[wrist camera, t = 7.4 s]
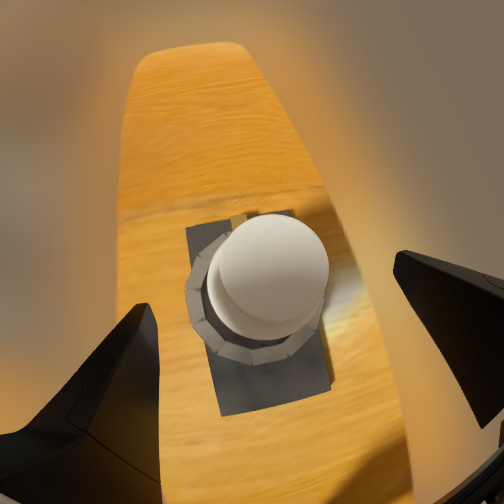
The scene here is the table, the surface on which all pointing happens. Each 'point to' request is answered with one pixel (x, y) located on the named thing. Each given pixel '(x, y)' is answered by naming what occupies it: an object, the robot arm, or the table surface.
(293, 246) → the pill bottle
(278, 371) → the plate
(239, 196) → the table surface
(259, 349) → the collar
